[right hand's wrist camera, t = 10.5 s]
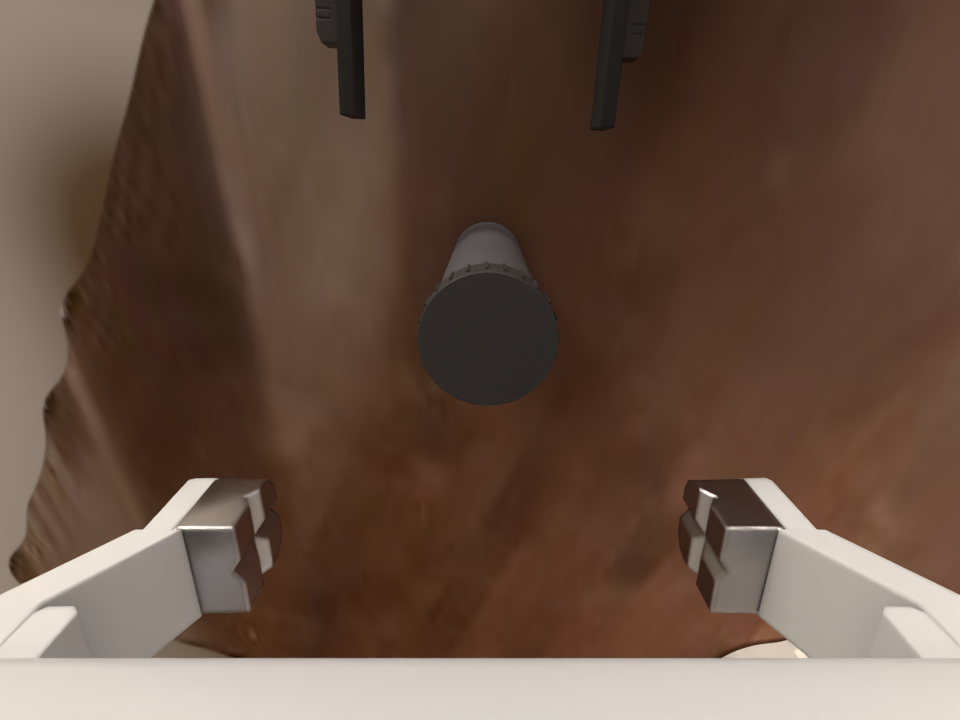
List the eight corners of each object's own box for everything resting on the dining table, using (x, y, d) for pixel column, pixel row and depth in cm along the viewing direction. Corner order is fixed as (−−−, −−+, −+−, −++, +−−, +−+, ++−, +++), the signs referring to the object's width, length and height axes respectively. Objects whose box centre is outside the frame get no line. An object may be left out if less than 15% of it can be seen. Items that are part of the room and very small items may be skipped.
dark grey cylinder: (443, 238, 37) (403, 306, 19) (504, 210, 36) (522, 254, 19) (470, 298, 39) (457, 413, 21) (530, 272, 38) (569, 368, 20)
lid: (398, 294, 21) (390, 305, 19) (524, 238, 20) (527, 245, 18) (455, 407, 22) (453, 426, 21) (573, 360, 21) (580, 376, 20)
